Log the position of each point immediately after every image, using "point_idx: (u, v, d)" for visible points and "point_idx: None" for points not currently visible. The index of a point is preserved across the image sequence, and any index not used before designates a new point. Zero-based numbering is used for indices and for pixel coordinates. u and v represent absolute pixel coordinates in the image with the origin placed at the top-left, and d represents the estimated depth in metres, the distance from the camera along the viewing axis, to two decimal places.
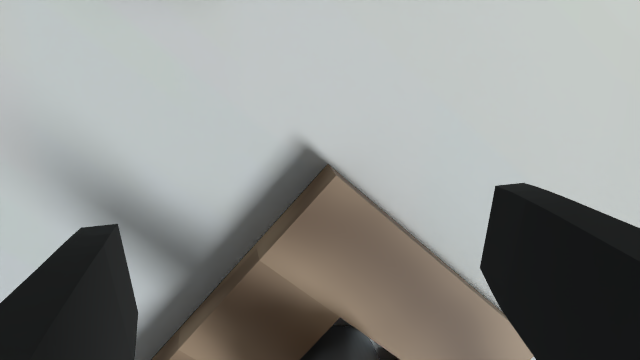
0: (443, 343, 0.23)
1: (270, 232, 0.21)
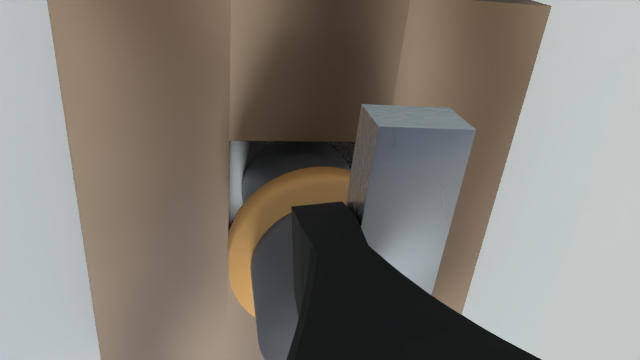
0: None
1: None
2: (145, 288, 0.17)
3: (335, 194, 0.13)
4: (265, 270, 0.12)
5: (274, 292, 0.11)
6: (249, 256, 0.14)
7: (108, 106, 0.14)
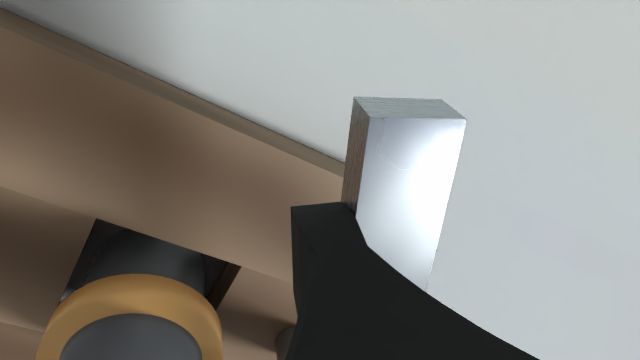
0: (265, 226, 0.17)
1: None
2: None
3: (54, 342, 0.14)
4: None
5: None
6: None
7: None
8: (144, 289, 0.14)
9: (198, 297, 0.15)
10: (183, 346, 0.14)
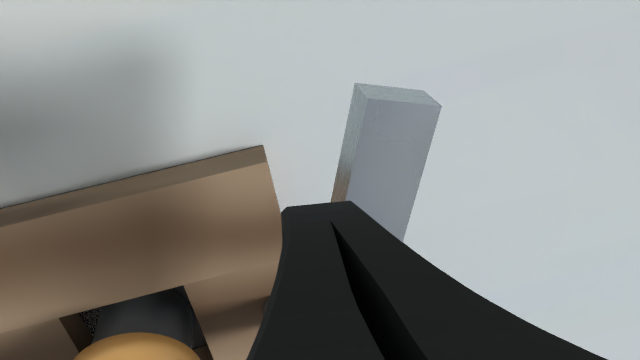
0: (168, 250, 0.19)
1: None
2: None
3: None
4: None
5: None
6: None
7: None
8: (90, 357, 0.18)
9: (140, 337, 0.18)
10: None
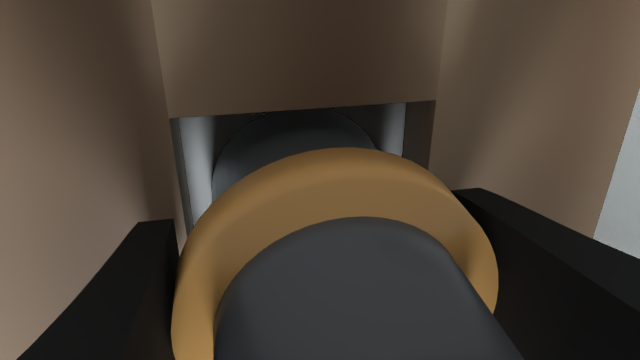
0: None
1: None
2: None
3: (359, 199, 0.07)
4: None
5: None
6: (208, 325, 0.07)
7: None
8: None
9: None
10: None
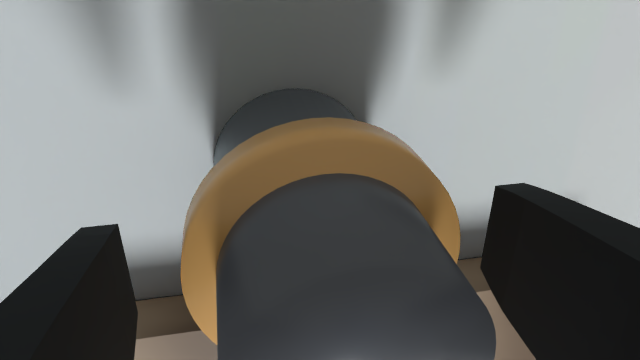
0: None
1: (467, 266, 0.16)
2: None
3: (333, 158, 0.08)
4: (226, 295, 0.07)
5: (235, 337, 0.06)
6: (212, 271, 0.09)
7: None
8: None
9: None
10: None
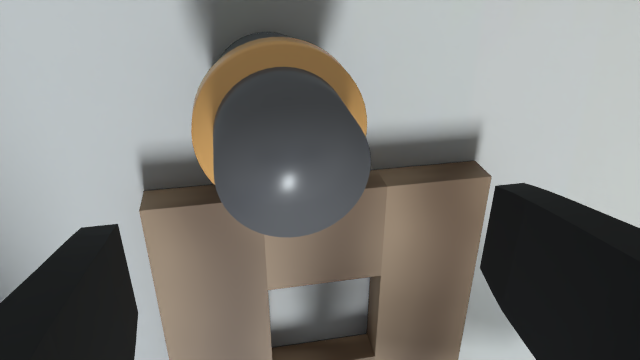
0: (410, 350, 0.25)
1: (398, 171, 0.21)
2: None
3: (282, 56, 0.14)
4: (218, 127, 0.13)
5: (222, 136, 0.12)
6: (210, 129, 0.14)
7: (183, 281, 0.20)
8: (361, 99, 0.15)
9: None
10: None
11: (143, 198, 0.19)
